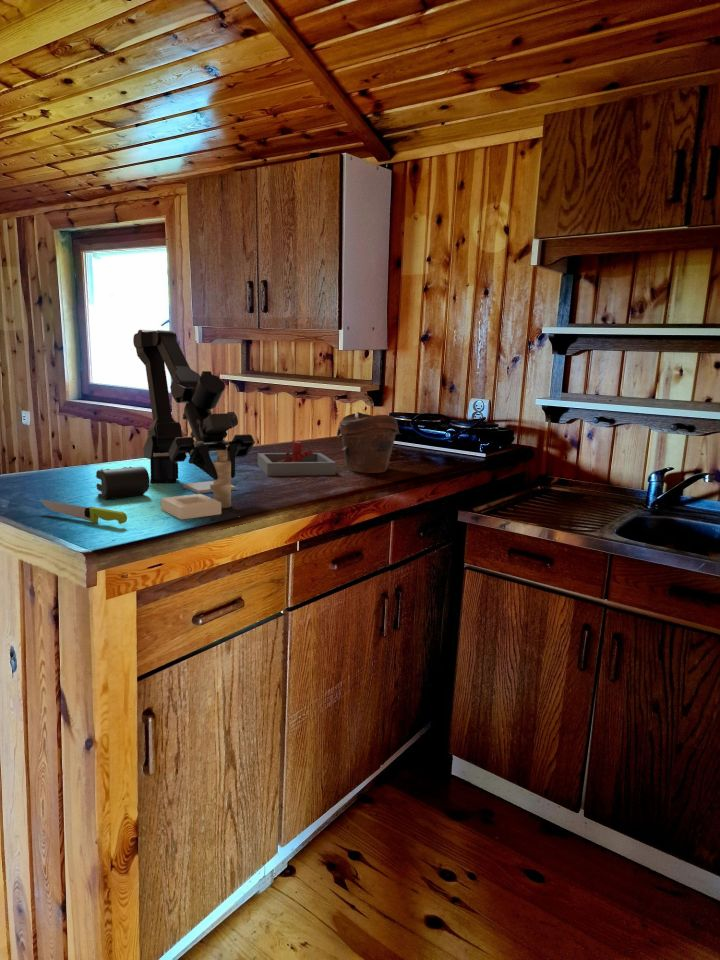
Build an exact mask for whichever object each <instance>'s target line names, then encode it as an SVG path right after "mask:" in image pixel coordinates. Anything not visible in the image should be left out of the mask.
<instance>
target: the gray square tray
mask: <svg viewBox="0 0 720 960" xmlns="http://www.w3.org/2000/svg"><path fill="white" fill-rule="evenodd" d="M292 453H293V452H289V458H291V457H293V454H292ZM302 453H303V452H302ZM302 453H301V454H302ZM285 459H287V453H286V452H274V453H273V452H266V453H265V452H264V453H263V452H257V466H258V467H259V468H260V470H262V472H263V473H264V474H265V475H266V476H267V477H275V476H276V477H278V476H280V477H284V476H285V477H286V476H287V477H288V476H289V477H291V476H293V477H294V476H336V471H337V462H335V461H334V460H333V459H331V458H329V457H328V456H326V455H324V454H323V453H321V452H313V454H311V455H309V456H306V457H304V458H301V459H302V460H303V461H304V462H278V461H282V460H285Z"/></svg>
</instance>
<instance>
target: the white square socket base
mask: <svg viewBox="0 0 720 960" xmlns="http://www.w3.org/2000/svg"><path fill="white" fill-rule="evenodd" d="M160 508H161V509H160V510H162V511H163V512H166V513H167V514H169V515H171V516H174V517H175V518H177V519H179V520H188V519H193V518H195V519H196V518H201V517H202V518H203V517H210V516H211V517H212V516H217V515H218V516H219V515H222V508H221V502H219V501H216V500H214V498H211V497H209V496H207V495H205V494H203V493H201V494H198V493H196V494H186V495H175V496H167V497H160Z"/></svg>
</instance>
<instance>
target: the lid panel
mask: <svg viewBox="0 0 720 960" xmlns="http://www.w3.org/2000/svg"><path fill="white" fill-rule="evenodd" d="M182 488H184V489H185V490H186V489H187V490H189V491H192V492H194V493H196V494H208V493H213V480H210V481H199V482H190V483H188V482H187V483H183V484H182ZM235 490H237V486H235V485H233V484H231V491H235Z"/></svg>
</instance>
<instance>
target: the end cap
mask: <svg viewBox="0 0 720 960" xmlns="http://www.w3.org/2000/svg"><path fill="white" fill-rule="evenodd" d="M95 473H96V475H95V477H96V479H98V480H100V481H101V482H100V483H96V485H95V487H96V490H97V491H98V492H101V493H97V497H98V498H101V500H109V499H110V500H111V499H112V500H113V499H119V498H129V497H134V496H135V497H137V496H143V495H145V493H147V492H148V490H149V488H150V485H151V482H150V475H149V474H150V473H149V472H148V469H147V467H144V466H135V467H134V466H133V467H132V466H129V467H121V468H113V469H110V468H106V469H103V468H101V469H98V470H97V471H96V472H95Z"/></svg>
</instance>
